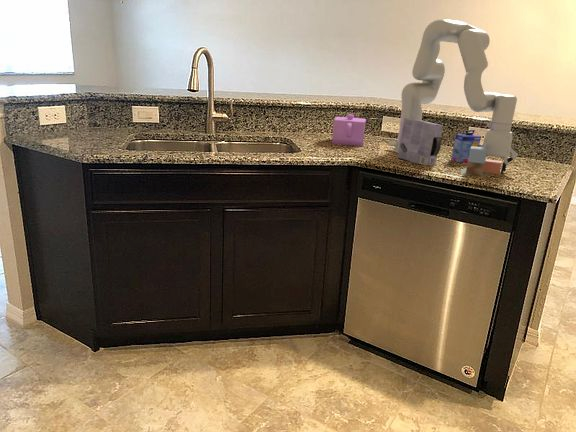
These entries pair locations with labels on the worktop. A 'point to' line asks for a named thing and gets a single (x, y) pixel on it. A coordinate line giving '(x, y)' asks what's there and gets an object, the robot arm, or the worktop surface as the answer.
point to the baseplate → (475, 175)
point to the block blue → (477, 154)
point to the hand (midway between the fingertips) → (491, 171)
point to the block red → (492, 166)
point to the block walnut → (475, 168)
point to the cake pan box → (420, 141)
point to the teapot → (348, 130)
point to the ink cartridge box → (464, 146)
